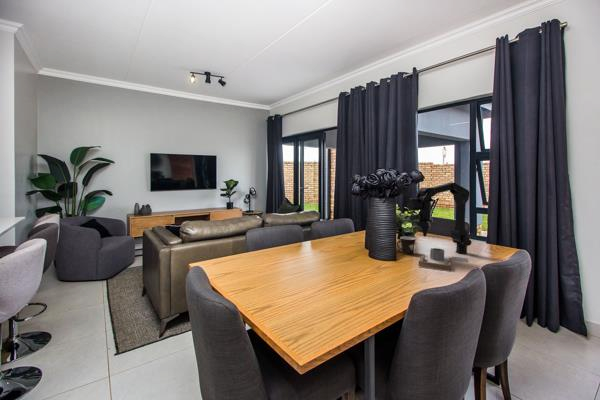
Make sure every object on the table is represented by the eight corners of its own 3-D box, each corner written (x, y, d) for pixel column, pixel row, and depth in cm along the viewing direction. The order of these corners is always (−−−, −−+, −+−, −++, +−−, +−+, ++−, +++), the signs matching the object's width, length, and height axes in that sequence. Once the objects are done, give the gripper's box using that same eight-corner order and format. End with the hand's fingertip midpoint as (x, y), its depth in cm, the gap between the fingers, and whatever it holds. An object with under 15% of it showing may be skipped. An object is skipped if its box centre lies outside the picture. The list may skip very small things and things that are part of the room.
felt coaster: (451, 257, 166) (451, 256, 166) (467, 259, 162) (467, 258, 162) (451, 261, 159) (451, 259, 159) (467, 263, 155) (467, 261, 155)
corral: (421, 259, 162) (422, 254, 162) (451, 263, 155) (452, 258, 154) (418, 267, 149) (418, 261, 149) (450, 271, 142) (451, 266, 142)
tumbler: (430, 257, 166) (431, 247, 166) (444, 259, 163) (444, 249, 162) (429, 260, 160) (430, 250, 160) (443, 262, 157) (444, 252, 156)
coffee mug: (412, 252, 178) (413, 236, 177) (417, 256, 169) (417, 239, 168) (393, 252, 179) (393, 236, 178) (396, 255, 170) (397, 239, 169)
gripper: (413, 207, 176) (412, 232, 178) (407, 210, 160) (407, 238, 162) (433, 208, 171) (432, 233, 172) (429, 211, 155) (428, 240, 156)
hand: (424, 236), depth 166 cm, fingers closed
